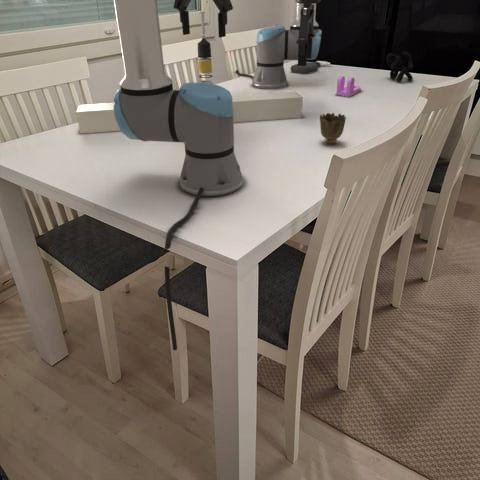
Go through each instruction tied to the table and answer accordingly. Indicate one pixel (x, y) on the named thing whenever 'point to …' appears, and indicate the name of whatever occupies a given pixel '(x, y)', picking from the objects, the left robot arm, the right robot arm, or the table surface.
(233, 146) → the left robot arm
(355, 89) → the bracket
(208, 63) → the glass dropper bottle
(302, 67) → the frying pan
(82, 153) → the table surface
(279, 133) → the table surface
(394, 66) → the squiggle
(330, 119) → the cup
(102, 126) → the slab
